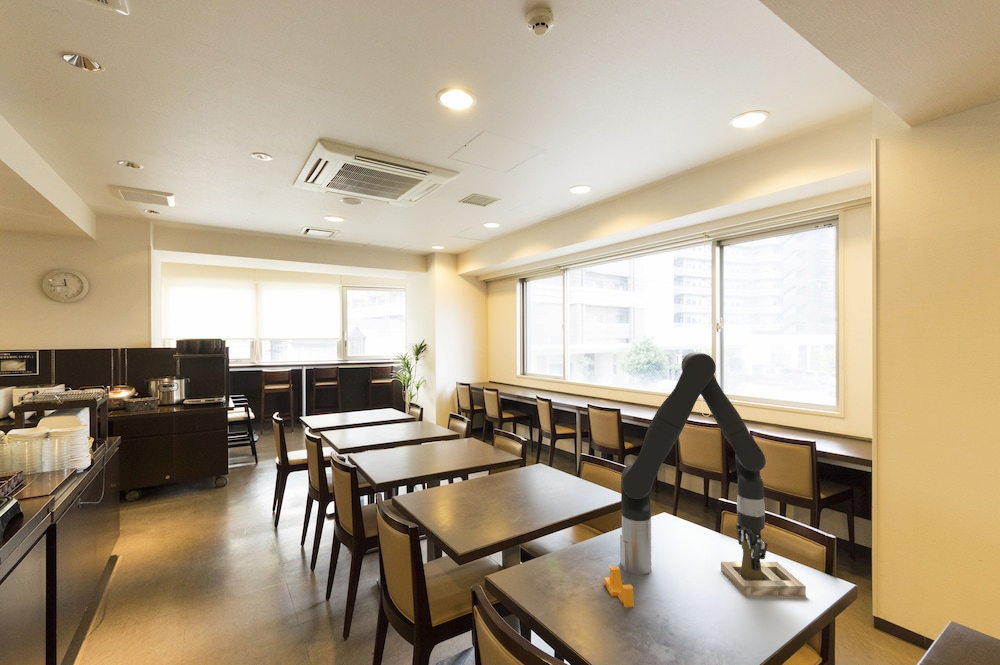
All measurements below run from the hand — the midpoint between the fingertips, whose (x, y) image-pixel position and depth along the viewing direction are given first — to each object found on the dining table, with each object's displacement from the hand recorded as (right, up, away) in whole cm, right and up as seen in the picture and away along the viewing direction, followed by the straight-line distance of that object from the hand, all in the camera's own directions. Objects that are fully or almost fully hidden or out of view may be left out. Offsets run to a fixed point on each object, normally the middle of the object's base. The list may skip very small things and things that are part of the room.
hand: (751, 565), depth 139 cm
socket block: (+3, -5, 0) cm, 6 cm away
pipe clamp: (-43, -6, -7) cm, 44 cm away
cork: (0, -3, 0) cm, 3 cm away
